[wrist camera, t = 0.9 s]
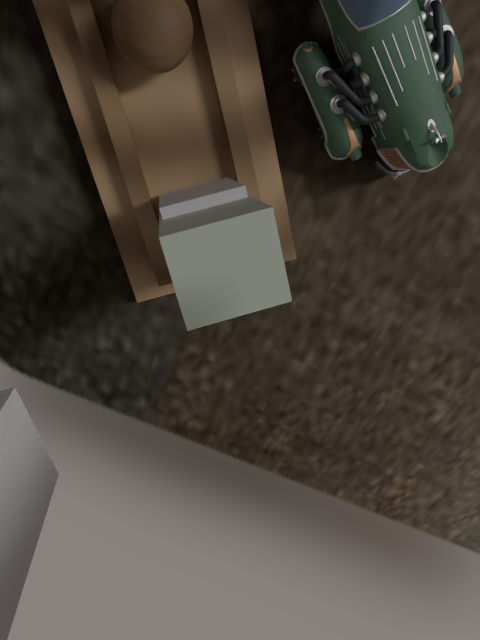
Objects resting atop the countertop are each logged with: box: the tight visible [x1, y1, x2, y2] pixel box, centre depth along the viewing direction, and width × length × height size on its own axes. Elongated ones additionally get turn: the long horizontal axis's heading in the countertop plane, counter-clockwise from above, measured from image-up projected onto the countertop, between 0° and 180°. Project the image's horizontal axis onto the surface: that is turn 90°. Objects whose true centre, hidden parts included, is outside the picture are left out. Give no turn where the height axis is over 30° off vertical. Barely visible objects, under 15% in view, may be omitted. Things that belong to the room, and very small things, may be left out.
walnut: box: [111, 0, 193, 74], centre depth 25 cm, size 4×4×4 cm
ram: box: [159, 177, 292, 331], centre depth 25 cm, size 5×5×12 cm
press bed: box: [32, 0, 297, 303], centre depth 26 cm, size 20×12×7 cm, turn 14°
